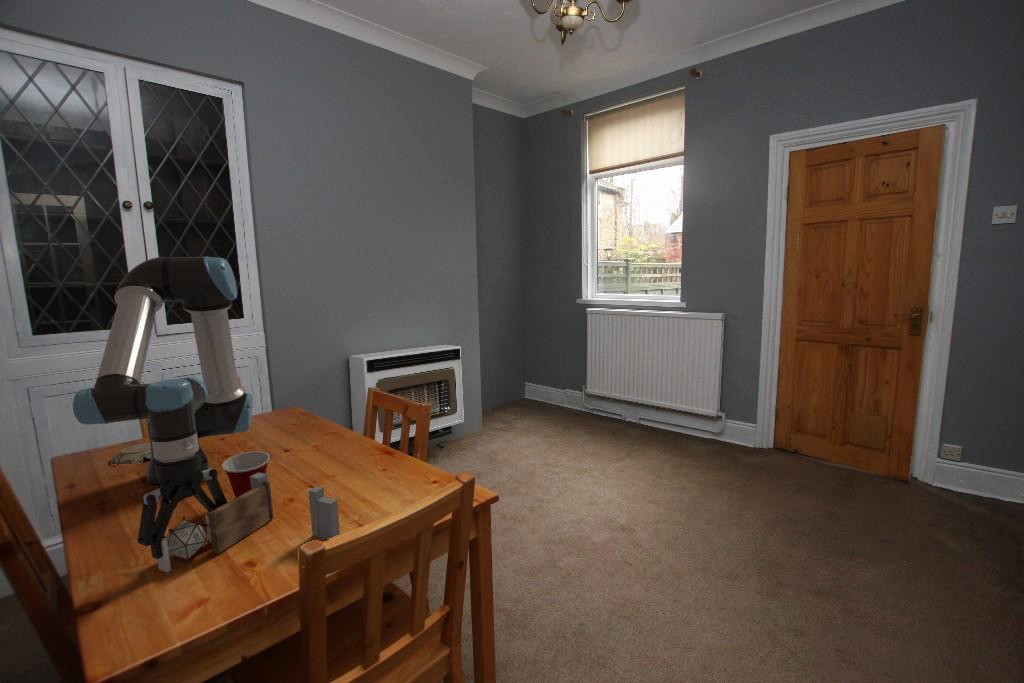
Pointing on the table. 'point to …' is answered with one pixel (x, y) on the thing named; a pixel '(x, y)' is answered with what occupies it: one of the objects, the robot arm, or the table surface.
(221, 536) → the door
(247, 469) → the plastic cup
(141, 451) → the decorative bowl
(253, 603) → the table surface
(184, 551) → the game die
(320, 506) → the grey upright posts
